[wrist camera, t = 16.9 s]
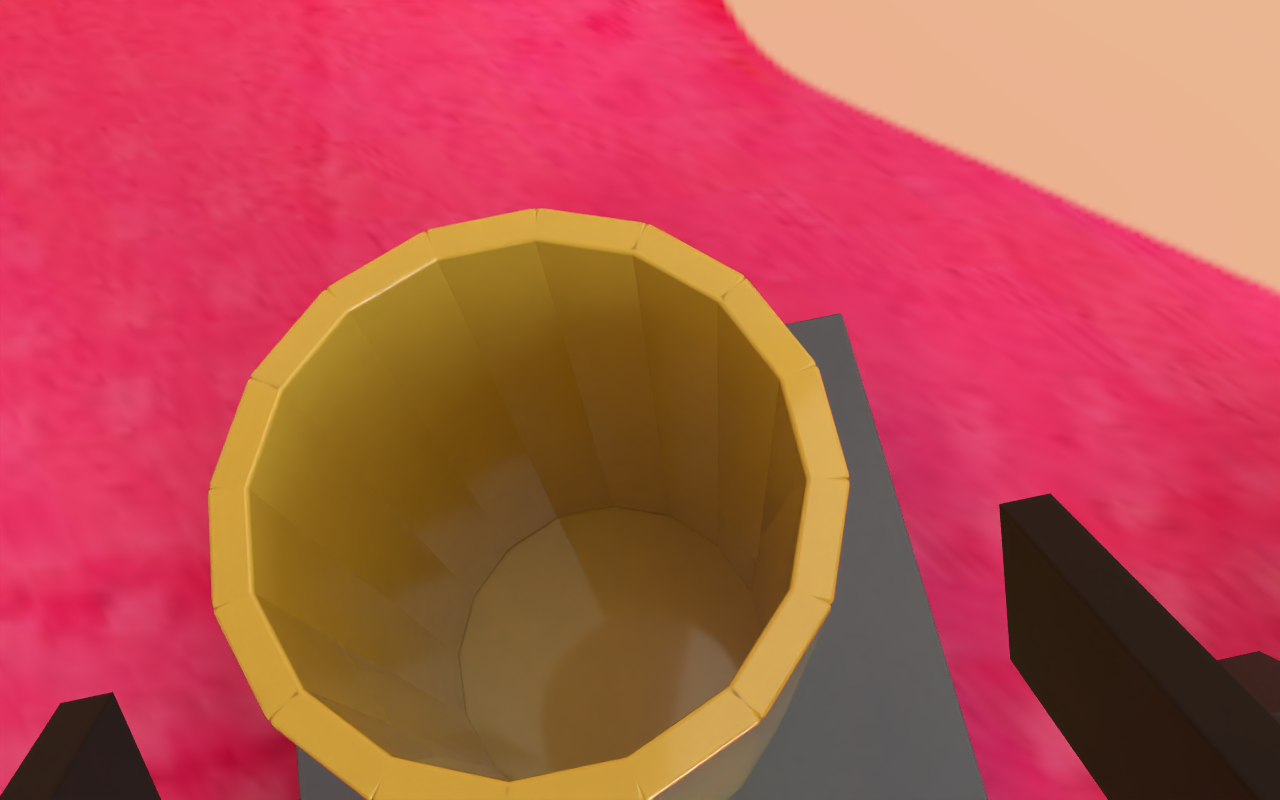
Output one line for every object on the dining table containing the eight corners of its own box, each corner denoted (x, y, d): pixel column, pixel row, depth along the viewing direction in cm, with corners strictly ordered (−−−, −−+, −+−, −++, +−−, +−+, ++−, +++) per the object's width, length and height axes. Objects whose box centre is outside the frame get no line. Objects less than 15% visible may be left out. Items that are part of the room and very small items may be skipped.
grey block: (377, 1059, 25) (317, 1093, 21) (329, 480, 30) (274, 427, 26) (985, 930, 25) (1031, 942, 21) (826, 378, 30) (841, 311, 27)
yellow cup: (467, 877, 22) (220, 893, 11) (426, 532, 25) (197, 274, 14) (824, 802, 22) (927, 744, 11) (742, 467, 25) (760, 160, 14)
